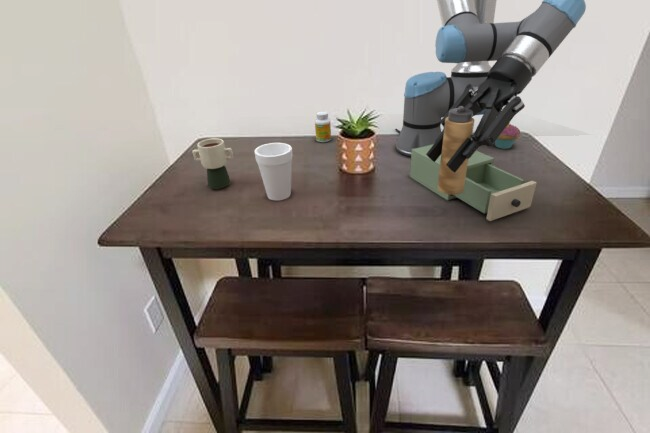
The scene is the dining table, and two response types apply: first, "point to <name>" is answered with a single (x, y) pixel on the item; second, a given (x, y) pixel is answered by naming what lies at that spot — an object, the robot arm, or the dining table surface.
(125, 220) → the dining table surface
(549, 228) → the dining table surface
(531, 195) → the drawer
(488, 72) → the robot arm
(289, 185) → the foam cup
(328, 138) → the supplement bottle
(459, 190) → the pepper mill
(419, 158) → the cabinet
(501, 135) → the cupcake
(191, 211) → the dining table surface
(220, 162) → the character mug
